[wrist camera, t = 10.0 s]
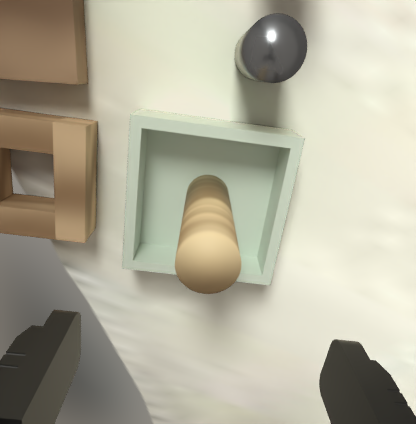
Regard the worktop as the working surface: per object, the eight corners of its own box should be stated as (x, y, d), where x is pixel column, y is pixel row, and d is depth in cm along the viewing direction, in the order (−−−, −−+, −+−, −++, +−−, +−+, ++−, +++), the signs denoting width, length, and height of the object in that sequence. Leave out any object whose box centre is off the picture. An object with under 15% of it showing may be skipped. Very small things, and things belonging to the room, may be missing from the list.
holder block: (-25, 104, 23) (-50, 108, 21) (97, 121, 24) (85, 126, 21) (-13, 215, 26) (-34, 229, 24) (95, 228, 27) (84, 242, 24)
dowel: (189, 172, 25) (178, 231, 15) (231, 177, 25) (246, 239, 15) (184, 211, 26) (171, 290, 16) (225, 216, 26) (235, 297, 16)
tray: (140, 108, 23) (130, 114, 20) (292, 130, 24) (304, 138, 21) (131, 246, 27) (122, 268, 24) (263, 261, 28) (270, 285, 25)
